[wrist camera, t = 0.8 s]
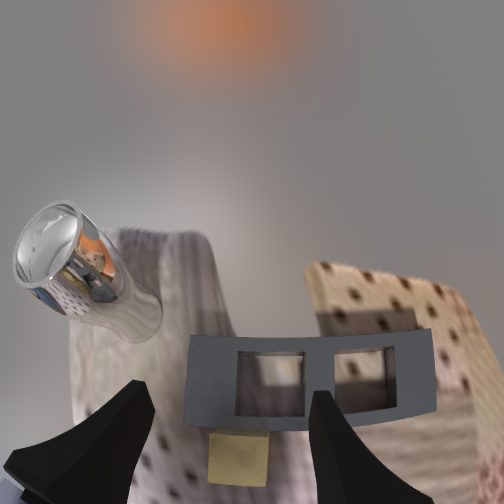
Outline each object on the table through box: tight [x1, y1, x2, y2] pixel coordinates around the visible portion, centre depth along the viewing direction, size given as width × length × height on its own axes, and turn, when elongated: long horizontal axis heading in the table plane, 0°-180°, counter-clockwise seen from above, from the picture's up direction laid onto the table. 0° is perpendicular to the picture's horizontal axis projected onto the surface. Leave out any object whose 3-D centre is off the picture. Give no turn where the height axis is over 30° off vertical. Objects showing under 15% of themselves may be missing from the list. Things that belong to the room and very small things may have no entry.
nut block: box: [208, 428, 270, 487], centre depth 18 cm, size 4×4×6 cm
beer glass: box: [12, 200, 162, 344], centre depth 20 cm, size 7×7×15 cm
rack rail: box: [184, 328, 436, 431], centre depth 21 cm, size 8×22×2 cm, turn 88°
